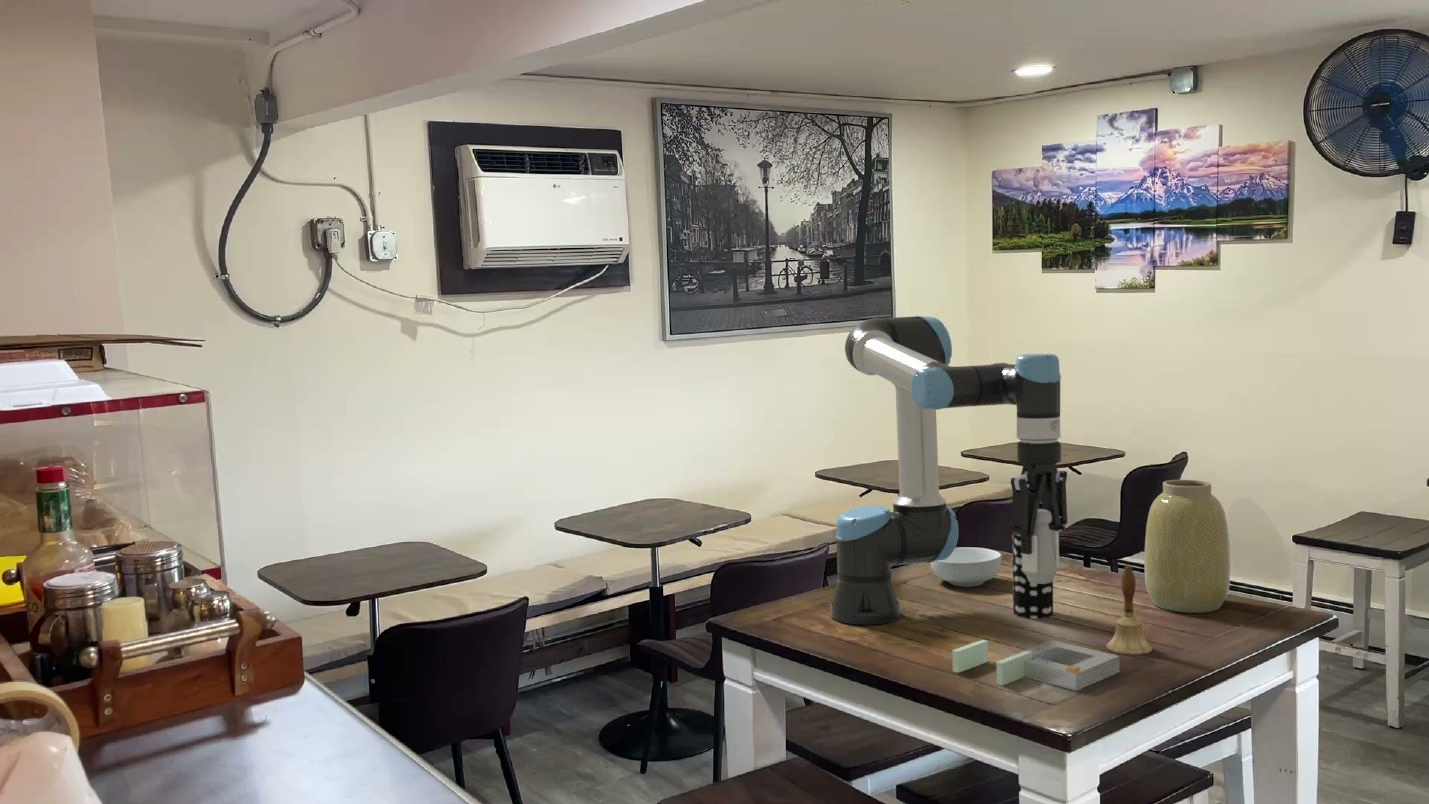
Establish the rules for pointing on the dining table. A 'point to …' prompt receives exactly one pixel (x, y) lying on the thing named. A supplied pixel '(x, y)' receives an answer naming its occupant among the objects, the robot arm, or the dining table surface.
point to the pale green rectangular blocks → (978, 655)
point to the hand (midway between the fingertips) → (1040, 568)
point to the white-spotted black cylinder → (1029, 590)
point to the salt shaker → (1043, 550)
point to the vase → (1187, 549)
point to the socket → (1081, 661)
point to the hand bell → (1129, 623)
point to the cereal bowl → (968, 566)
